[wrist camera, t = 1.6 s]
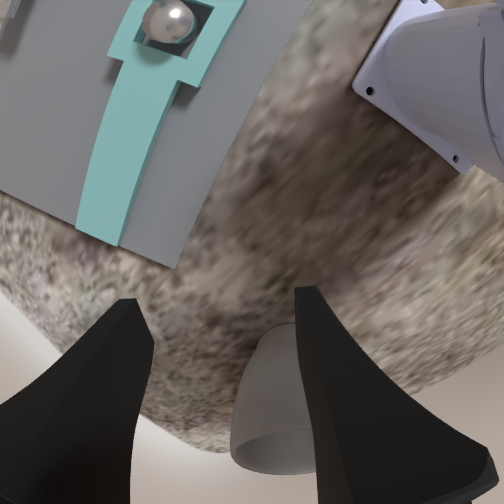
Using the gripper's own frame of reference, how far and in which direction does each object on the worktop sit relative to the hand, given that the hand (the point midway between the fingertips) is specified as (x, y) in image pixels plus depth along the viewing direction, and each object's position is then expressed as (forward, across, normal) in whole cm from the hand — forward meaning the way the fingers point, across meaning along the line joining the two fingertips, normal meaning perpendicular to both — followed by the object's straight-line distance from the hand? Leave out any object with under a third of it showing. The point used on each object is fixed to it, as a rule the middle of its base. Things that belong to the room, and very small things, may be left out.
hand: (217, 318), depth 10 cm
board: (+10, +6, -9) cm, 15 cm away
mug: (+10, -3, +14) cm, 18 cm away
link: (+8, +4, -6) cm, 11 cm away
